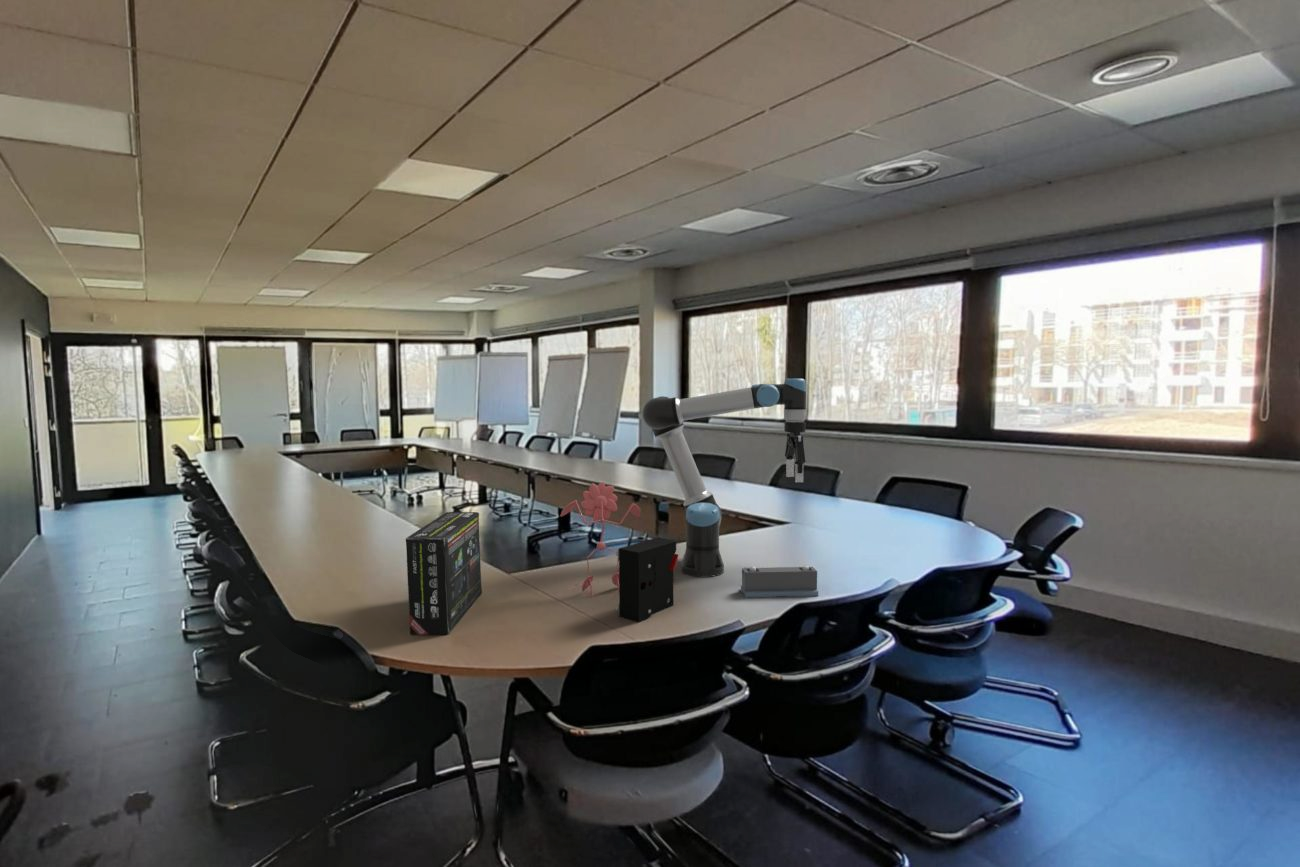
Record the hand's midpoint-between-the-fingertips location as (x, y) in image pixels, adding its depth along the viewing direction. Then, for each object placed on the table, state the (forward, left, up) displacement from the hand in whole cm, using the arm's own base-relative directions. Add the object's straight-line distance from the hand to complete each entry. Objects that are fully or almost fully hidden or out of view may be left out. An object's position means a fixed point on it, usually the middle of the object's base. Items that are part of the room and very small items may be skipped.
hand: (794, 479), depth 245 cm
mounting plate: (-14, -32, -32) cm, 47 cm away
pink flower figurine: (-71, -24, -32) cm, 81 cm away
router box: (-115, -44, -32) cm, 127 cm away
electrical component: (-57, -46, -32) cm, 80 cm away
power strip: (-14, -32, -30) cm, 46 cm away
